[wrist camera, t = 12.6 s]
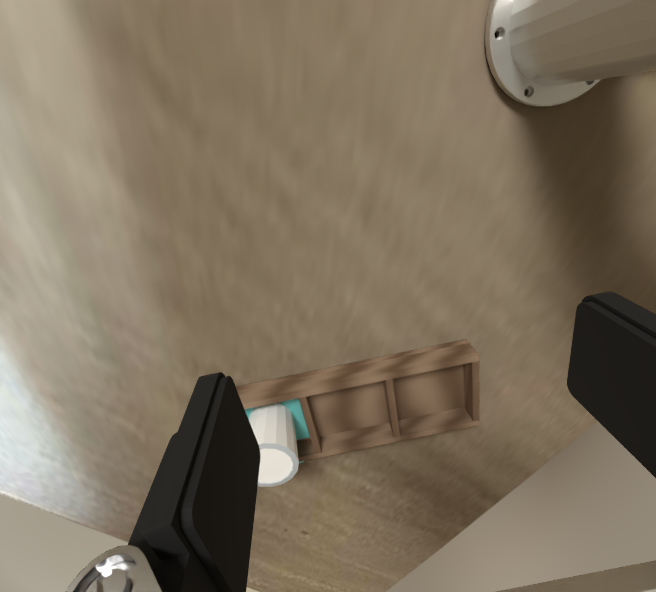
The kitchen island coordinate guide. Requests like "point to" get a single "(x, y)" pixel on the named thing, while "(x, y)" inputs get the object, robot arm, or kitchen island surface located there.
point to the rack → (376, 399)
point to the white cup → (275, 443)
